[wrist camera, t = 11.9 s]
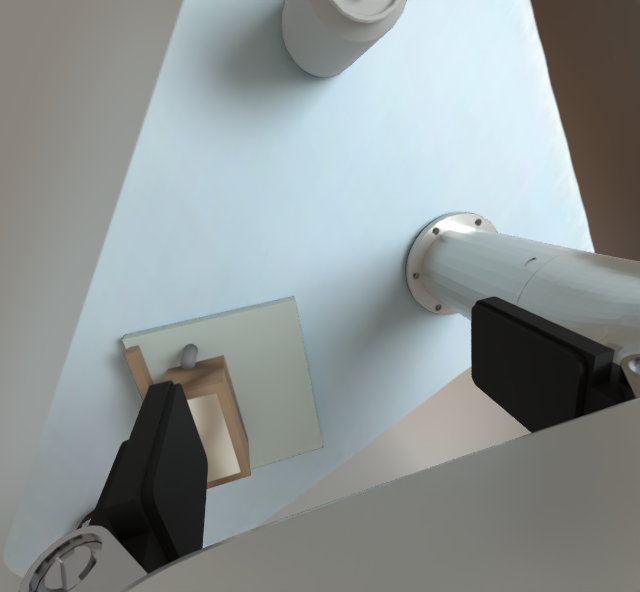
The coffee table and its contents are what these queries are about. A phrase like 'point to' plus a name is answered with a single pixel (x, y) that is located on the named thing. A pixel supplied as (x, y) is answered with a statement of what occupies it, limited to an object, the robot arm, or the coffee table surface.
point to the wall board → (243, 371)
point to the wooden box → (216, 418)
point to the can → (335, 31)
